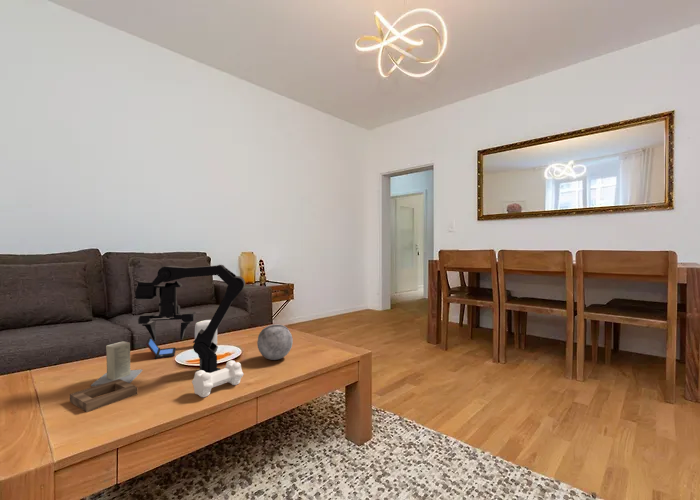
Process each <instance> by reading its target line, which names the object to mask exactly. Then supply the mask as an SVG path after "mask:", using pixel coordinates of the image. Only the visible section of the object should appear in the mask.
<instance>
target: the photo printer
mask: <svg viewBox="0 0 700 500" xmlns="http://www.w3.org/2000/svg"><path fill="white" fill-rule="evenodd" d="M210 321H211V319H205V320H201V321H198V322H195V325H194V340H195V339H196V337H197V335H198V333H199V331H200V330H201V329H203V330H204V331H205V329H206V328H207V326H208V325H209V323H210ZM213 343H214V344H216V345H217V346H218V329H217V330H216V333H215V336H214V339H213Z"/></svg>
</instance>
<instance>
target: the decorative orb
mask: <svg viewBox="0 0 700 500" xmlns="http://www.w3.org/2000/svg"><path fill="white" fill-rule="evenodd" d="M292 335H293V334H292V333H291V331H290V330H289V328H288V327H287V326H285V325H283V324H278V323H276V324H275V323H274V324H270V325H267V326H265V327H263V329H262V330H260V332H259V334H258V337H257V341H256V343H257V349H258V351H259V353H260V355H261V356H262V357H264V358H265V359H268V360H271V361H277V360H281V359H283V358H285V357H286V356H287V355H288V354H289V353H290V352H291V350H292V347H293V344H294V343H293V342H294V340H293V336H292Z"/></svg>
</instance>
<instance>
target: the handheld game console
mask: <svg viewBox="0 0 700 500" xmlns="http://www.w3.org/2000/svg"><path fill="white" fill-rule="evenodd" d="M145 345H146V347H148V349H149V350H150V352H151V353H152V354H153V355H154V359H155V360H159V359H167V358H168V359H169V358H174V357H175V355H176V349H177V348H176V347H167V348H166V347H165V348H160V347H159V346H158V345H157V344H156V341H153V339H152V337H151V336H149V337H148V338H147V341H146V344H145Z"/></svg>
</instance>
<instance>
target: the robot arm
mask: <svg viewBox="0 0 700 500" xmlns="http://www.w3.org/2000/svg"><path fill="white" fill-rule="evenodd" d="M156 275H157V276H155V278H154V279H153V280H152V281H141V280H140V281H138V282H137V286H136V288H135V291H134V295H135V299H136V301H143V300H144V301H145V300H147V301H151V300H152V301H153V300H156V298H159V302H158V307H159V314H157V315H156V314H155V312H151V313H149V312H148V313H143V314H141V315H140V316H138V318H137V324H138V325H141V326H142V327H145V328H146V330H147V332H148V333H149V334H150V337H151V338H152V340H153V341H154V342H156V341H157V333H156V323H157V322H156V321H175V320H181V322H180V336H179V337H180V340H181V341H183V338H184V335H185V332H186V330H187V327H188V325H190V324H191V323H192V322H194V321H195V320H196V319H197V312H196V311H185V312H183V313H181V306H180V305H179V304H178V300H177V299H178V298H177V295H178V293H177V290H178V289H177V288H181V287H183V284H182V283H181V282H180V281H179V280H180V279H184V278H192V277H193V278H194V277H206V276H207V277H208V276H211V277H212V276H217V277H219V279H220V280H222V281H223V282H224V283H225V284H226V285H227V288H226V290H225V293H224V297H223V299H222V300H221V301H220V304H219V306H218V307H217V310H215V312H214V314H213V316H212V317H211V319H210V320H211V321H210V323H209V325H208V326H207V328H206V329H205V331H204V330H203V329H201V330H200V331H199V333H198V335H197V337H196V339H195V338H194V340H193V341H192V343H193V344H192V349H193V352H195V353H196V354H197V355H198V358H199V369H197V370H196V371H195V373H196V372H197V371H199V370H204V371H205V372H208V373H212V372H215V371H218V370H221V368H220V367H218V354H216V352H217V351H218V348H219V346H218V344H217V345H216V344H214V343H213V339H214V336H215V333H216V330H217V331H218V328H219V327H220V325H221V323H222V321H223V320H224V317H225V315H226V314H227V313H228V311H229V308H230V307H231V305H232V304H233V301H234V300H235V299H236V298H237V297H238V296H239V294H241V292H242V290H244V288H245V285H246V280H245V279H244V277H242V276H239V275H236V274H235V273H233V271H231V270H230V269H229V268H227V267H226V266H225V265H224V264H217V265H207V266H206V265H205V266H191V267H190V266H188V267H187V266H178V265H165V266H162V267H160V268H159V270H158V271H157V274H156ZM173 281H174V282H173ZM164 283H165V284H164ZM161 284H162V285H161Z"/></svg>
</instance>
